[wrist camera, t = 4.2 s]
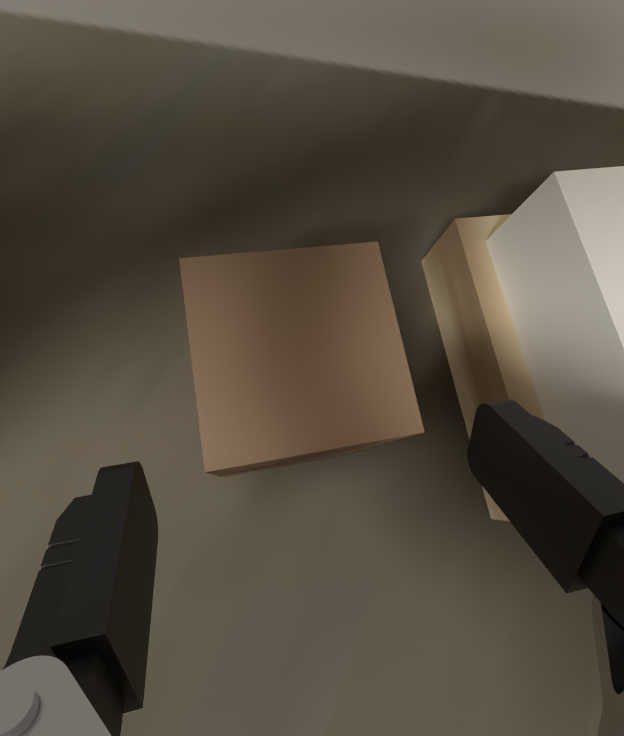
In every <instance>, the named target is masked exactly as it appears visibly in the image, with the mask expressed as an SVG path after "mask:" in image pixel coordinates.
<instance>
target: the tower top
mask: <svg viewBox="0 0 624 736" xmlns="http://www.w3.org/2000/svg"><path fill="white" fill-rule="evenodd" d="M485 243H486V246H487V249H488V252H489V255H490V258H491V261H492V264H493V267H494V270H495V273H496V276H497V279H498V282H499V285H500V287H501V290H502V293H503V296H504V299H505V302H506V305H507V308H508V311H509V314H510V317H511V320H512V323H513V326H514V329H515V332H516V335H517V338H518V341H519V344H520V347H521V350H522V353H523V356H524V359H525V362H526V365H527V368H528V371H529V374H530V377H531V380H532V383H533V386H534V389H535V392H536V395H537V398H538V401H539V404H540V407H541V410H542V413H543V416H544V419H545V421H546V422H548V423H550V424H552V425H554V426H556V427H558V428H559V429H560V430H561V431H562V432H564V433H565V434H566V435H567V436H568V437H569V438H571V439H572V440H573V441H574V443H575V445H579V446H580V447H581V448H582V449H584V450H585V451H586V452H587V453H588V454H589V457H590V458H591V457H593V458H594V459H595V460H597V461H598V462H599V463H600V464H601V465H603V466H604V467H605V468H606V469H607V470H608V471H610V472H611V473H612V474H613V475H614V476H616V477H617V478H618V479H619V480H620V481H621V482H623V483H624V166H618V167H606V168H594V169H582V170H569V171H557V172H553V173H552V174H551V175H550V176H549V177H548V178H547V179H546V180H545V181H544V182H543V183H542V184H541V185H540V186H539V187H538V188H537V189H536V190H535V191H534V192H533V193H532V194H531V195H530V196H529V197H528V198H527V199H526V200H525V201H524V203H523V204H522V205H521V206H520V207H519V208H518V209H517V210H516V211H515V212H514V213H513V214H512V215H511V216H510V217H509V218H508V219H507V220H506V221H505V222H504V223H503V224H502V225H501V226H500V227H499V228H498V229H497V230H496V231H495V232H494V233H493V234H492V235H491V236H490V237H489V238H488V239H487V240H486V241H485Z"/></svg>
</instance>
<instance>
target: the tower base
mask: <svg viewBox="0 0 624 736" xmlns="http://www.w3.org/2000/svg"><path fill="white" fill-rule="evenodd" d="M511 215H512V214H508V215H495V216H483V217H470V218H457V219H454V220H453V222H452V223H451V224H450V225H449V227H448V228H447V229H446V230H445V232H444V233H443V234H442V235H441V237H440V238H439V239H438V241H437V242H436V243H435V244H434V246H433V247H432V248H431V249H430V251H429V252H428V253H427V254H426V256H425V257H424V258H423V259H422V261H421V263H422V266H423V270H424V274H425V277H426V281H427V285H428V288H429V292H430V296H431V300H432V303H433V307H434V311H435V314H436V318H437V322H438V325H439V329H440V333H441V336H442V340H443V344H444V348H445V351H446V355H447V359H448V362H449V366H450V370H451V373H452V377H453V381H454V384H455V388H456V392H457V396H458V399H459V403H460V407H461V410H462V414H463V418H464V421H465V425H466V429H467V432H468V436H469V440H470V436H471V432H472V427H473V422H474V418H475V413H476V410H477V408H478V406H479V405H480V404H483V403H489V402H495V401H501V400H507V399H511V400H514V401H516V402H517V403H518V404H519V405H521V406H522V407H523V408H524V409H525V410H526V411H527V412H529V413H530V414H531V415H532V416H536V417H538V418H540V419H542V420H544V421H545V419H544V416H543V413H542V410H541V407H540V404H539V401H538V398H537V395H536V392H535V389H534V386H533V383H532V380H531V377H530V374H529V371H528V368H527V365H526V362H525V359H524V356H523V353H522V350H521V347H520V344H519V341H518V338H517V335H516V332H515V329H514V326H513V323H512V320H511V317H510V314H509V311H508V308H507V305H506V302H505V299H504V296H503V293H502V290H501V287H500V285H499V282H498V279H497V276H496V273H495V270H494V267H493V264H492V261H491V258H490V255H489V252H488V249H487V246H486V243H485V241H486V240H487V239H488V238H489V237H490V236H491V235H492V234H493V233H494V232H495V231H496V230H497V229H498V228H499V227H500V226H501V225H502V224H503V223H504V222H505V221H506V220H507V219H508V218H509V217H510V216H511ZM482 488H483V486H482ZM483 492H484V495H485V499H486V503H487V506H488V510H489V514H490V517H491V519H495V520H502V521H509V519H508V518H507V517H506V516H505V514H504V513H503V512H502V511H501V509H500V508H499V507H498V505H497V504H496V503H495V502H494V500H493V499H492V498H491V497H490V495H489V494H488V493H487V491H486V490H485V489H484V488H483ZM509 522H510V521H509Z"/></svg>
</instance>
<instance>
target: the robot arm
mask: <svg viewBox="0 0 624 736" xmlns="http://www.w3.org/2000/svg"><path fill="white" fill-rule="evenodd" d="M467 458H468V463H469V466H470V469H471V471H472V473H473V475H474V476H475V477H476V479H477V480H478V481H479V482H480V484H481V485H482V486H483V488H484V489H485V490H486V491H487V493H488V494H489V495H490V497H491V498H492V499H493V500H494V502H495V503H496V504H497V505H498V507H499V508H500V509H501V511H502V512H503V513H504V514H505V516H506V517H507V518H508V519H509V521H510V522H511V523H512V525H513V526H514V527H515V528H516V530H517V531H518V532H519V533H520V535H521V536H522V537H523V539H524V540H525V541H526V542H527V544H528V545H529V546H530V547H531V549H532V550H533V551H534V553H535V554H536V555H537V556H538V558H539V559H540V560H541V561H542V563H543V564H544V565H545V567H546V568H547V569H548V570H549V572H550V573H551V574H552V575H553V577H554V578H555V579H556V581H557V582H558V583H559V584H560V586H561V587H562V588H563V589H564V591H565V592H566V593H570V592H574V591H577V590H581V589H585V588H589V589H590V590H591V592H592V593H593V594H594V595H595V598H594V599H593V602H592V614H593V622H594V630H595V638H596V646H597V654H598V662H599V671H600V679H601V687H602V695H603V709H602V716H601V720H600V724H599V730H598V736H624V483H623V482H621V481H620V480H619V479H618V478H617V477H616V476H614V475H613V474H612V473H611V472H610V471H608V470H607V469H606V468H605V467H604V466H603V465H601V464H600V463H599V462H598V461H597V460H595V459H594V458H593V457H591V458H590V457H589V454H588V453H587V452H586V451H585V450H584V449H582V448H581V447H580V446H579V445H575V443H574V441H573V440H572V439H571V438H569V437H568V436H567V435H566V434H565V433H564V432H562V431H561V430H560V429H559V428H558V427H556V426H554V425H552V424H550V423H548V422H546V421H544V420H542V419H540V418H538V417H536V416H532V415H531V414H530V413H529V412H527V411H526V410H525V409H524V408H523V407H522V406H521V405H519V404H518V403H517V402H516V401H514V400H511V399H507V400H501V401H495V402H489V403H483V404H480V405H479V406H478V408H477V410H476V413H475V418H474V422H473V427H472V432H471V436H470V441H469V446H468V451H467ZM157 544H158V523H157V516H156V511H155V507H154V504H153V501H152V497H151V494H150V491H149V488H148V484H147V481H146V478H145V475H144V471H143V468H142V466H141V464H140V462H138V461H137V462H131V463H125V464H120V465H114V466H108V467H102V468H100V470H99V472H98V474H97V478H96V482H95V485H94V489H93V492H92V495H88V496H82V497H77V498H74V499H73V501H72V502H71V503H70V504H69V506H68V507H67V508H66V509H65V511H64V512H63V513H62V514H61V515H60V517H59V518H58V519H57V521H56V523H55V526H54V529H53V532H52V535H51V538H50V541H49V544H48V546H49V548H48V549H47V550H46V552H45V555H44V558H43V561H42V564H41V571H39V572H38V575H37V578H36V581H35V584H34V587H33V589H32V592H31V595H30V598H29V601H28V604H27V607H26V610H25V612H24V615H23V618H22V621H21V624H20V627H19V630H18V633H17V635H16V638H15V641H14V644H13V647H12V650H11V653H10V655H9V658H8V660H7V662H6V665H5V666H4V668H3V670H2V671H1V672H0V736H120V733H121V725H122V717H123V713H126V712H130V711H133V710H137V709H141V708H143V699H144V688H145V677H146V666H147V655H148V644H149V633H150V621H151V610H152V599H153V588H154V577H155V566H156V555H157Z"/></svg>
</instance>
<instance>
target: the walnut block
mask: <svg viewBox="0 0 624 736" xmlns="http://www.w3.org/2000/svg"><path fill="white" fill-rule="evenodd" d="M179 262H180V271H181V279H182V287H183V295H184V304H185V312H186V320H187V329H188V337H189V345H190V353H191V362H192V370H193V378H194V386H195V395H196V403H197V411H198V419H199V428H200V436H201V444H202V452H203V461H204V469H205V472H206V473H210V474H213V475H217V476H220V477H227V476H233V475H238V474H244V473H249V472H254V471H260V470H265V469H271V468H276V467H281V466H287V465H292V464H298V463H303V462H309V461H314V460H319V459H325V458H330V457H336V456H341V455H346V454H350V453H353V452H357V451H360V450H364V449H367V448H371V447H374V446H378V445H381V444H385V443H389V442H392V441H396V440H399V439H403V438H406V437H410V436H413V435H417V434H420V433H424V428H423V424H422V420H421V415H420V411H419V407H418V403H417V399H416V395H415V391H414V387H413V383H412V379H411V375H410V371H409V366H408V362H407V358H406V354H405V350H404V346H403V342H402V338H401V334H400V330H399V326H398V322H397V318H396V313H395V309H394V305H393V301H392V297H391V293H390V289H389V285H388V281H387V277H386V273H385V269H384V264H383V260H382V256H381V252H380V248H379V244H378V241H377V242H365V243H353V244H341V245H329V246H317V247H306V248H294V249H282V250H270V251H258V252H246V253H234V254H222V255H211V256H199V257H187V258H179Z"/></svg>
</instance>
